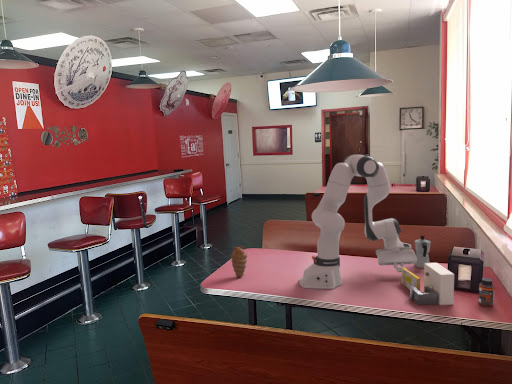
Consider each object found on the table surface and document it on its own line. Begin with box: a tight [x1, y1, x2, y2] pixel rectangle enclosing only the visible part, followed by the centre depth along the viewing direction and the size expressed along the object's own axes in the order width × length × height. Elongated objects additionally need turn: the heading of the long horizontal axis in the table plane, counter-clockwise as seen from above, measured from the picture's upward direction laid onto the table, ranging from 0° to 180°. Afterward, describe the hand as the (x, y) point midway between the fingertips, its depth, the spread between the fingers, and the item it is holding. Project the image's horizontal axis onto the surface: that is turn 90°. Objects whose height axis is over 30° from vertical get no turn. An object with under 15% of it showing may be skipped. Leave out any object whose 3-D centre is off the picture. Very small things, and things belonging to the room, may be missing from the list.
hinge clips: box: [409, 285, 438, 306], centre depth 178 cm, size 11×8×6 cm
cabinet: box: [423, 262, 455, 306], centre depth 180 cm, size 7×16×14 cm, turn 1°
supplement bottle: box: [477, 277, 496, 307], centre depth 172 cm, size 6×6×11 cm
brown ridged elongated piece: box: [230, 245, 248, 278], centre depth 217 cm, size 9×8×18 cm
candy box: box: [400, 267, 421, 292], centre depth 192 cm, size 16×2×8 cm, turn 5°
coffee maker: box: [413, 234, 432, 269], centre depth 223 cm, size 15×9×18 cm, turn 168°
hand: (400, 271), depth 204 cm, fingers closed
